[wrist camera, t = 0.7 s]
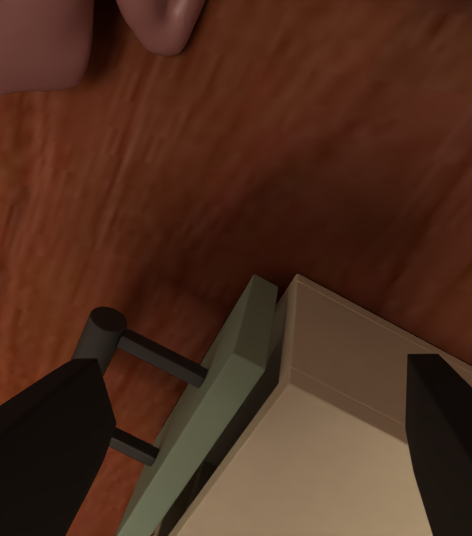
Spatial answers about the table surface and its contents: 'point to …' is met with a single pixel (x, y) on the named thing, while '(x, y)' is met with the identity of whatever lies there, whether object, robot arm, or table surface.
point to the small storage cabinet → (320, 433)
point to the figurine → (79, 37)
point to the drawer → (191, 400)
